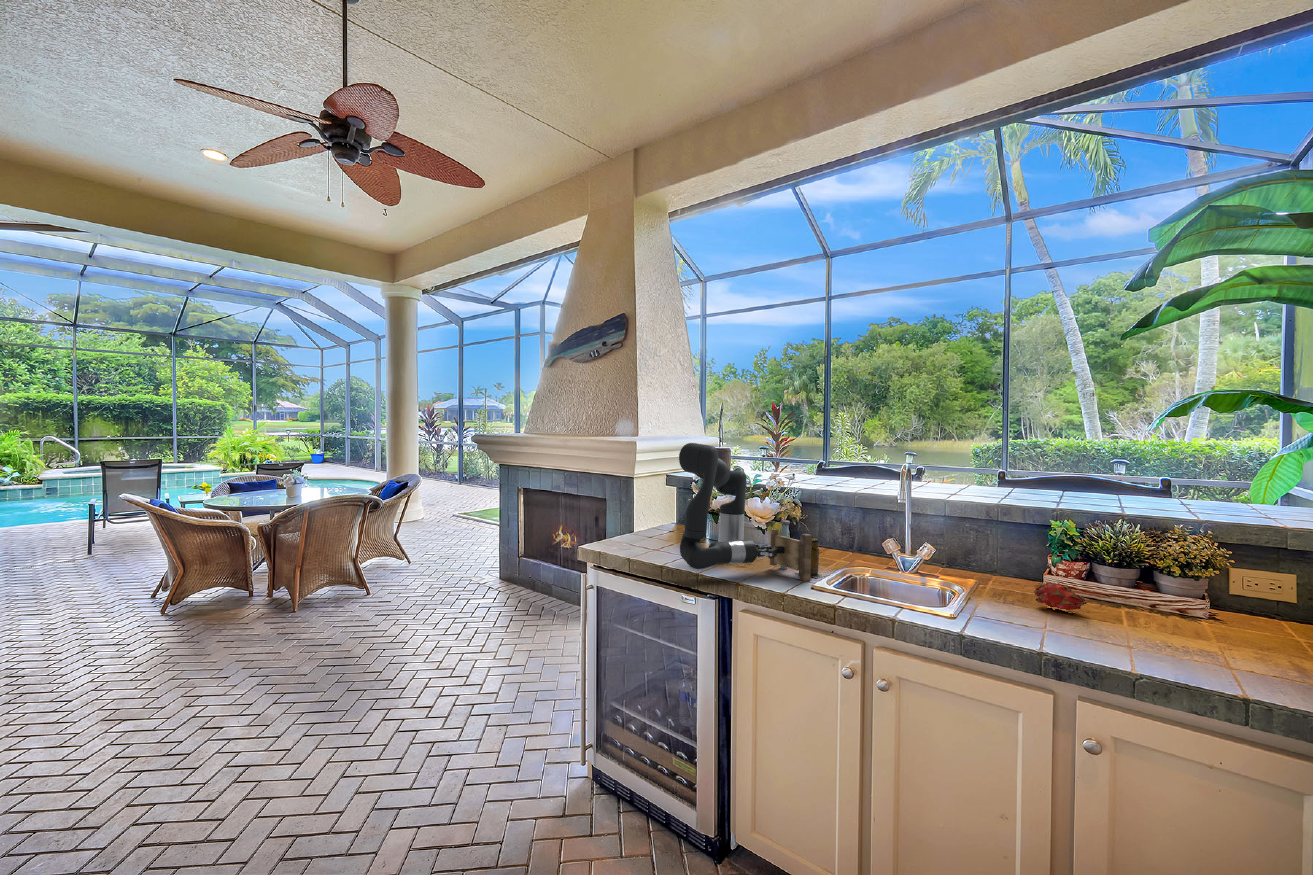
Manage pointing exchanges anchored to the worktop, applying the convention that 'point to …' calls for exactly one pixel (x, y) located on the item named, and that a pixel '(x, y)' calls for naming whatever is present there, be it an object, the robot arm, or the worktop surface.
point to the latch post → (784, 533)
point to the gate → (786, 551)
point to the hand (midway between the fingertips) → (782, 549)
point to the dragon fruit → (1058, 596)
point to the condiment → (815, 560)
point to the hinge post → (805, 557)
